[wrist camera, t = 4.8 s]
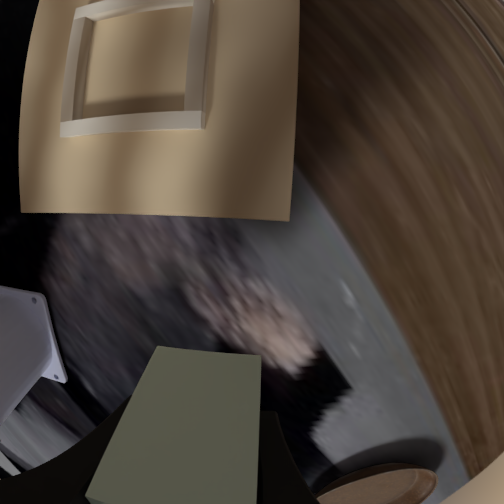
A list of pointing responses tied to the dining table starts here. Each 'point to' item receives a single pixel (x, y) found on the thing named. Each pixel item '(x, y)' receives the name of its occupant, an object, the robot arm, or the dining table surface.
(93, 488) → the sage block
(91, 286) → the dining table surface
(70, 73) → the display plinth
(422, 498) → the saucer
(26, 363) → the robot arm
